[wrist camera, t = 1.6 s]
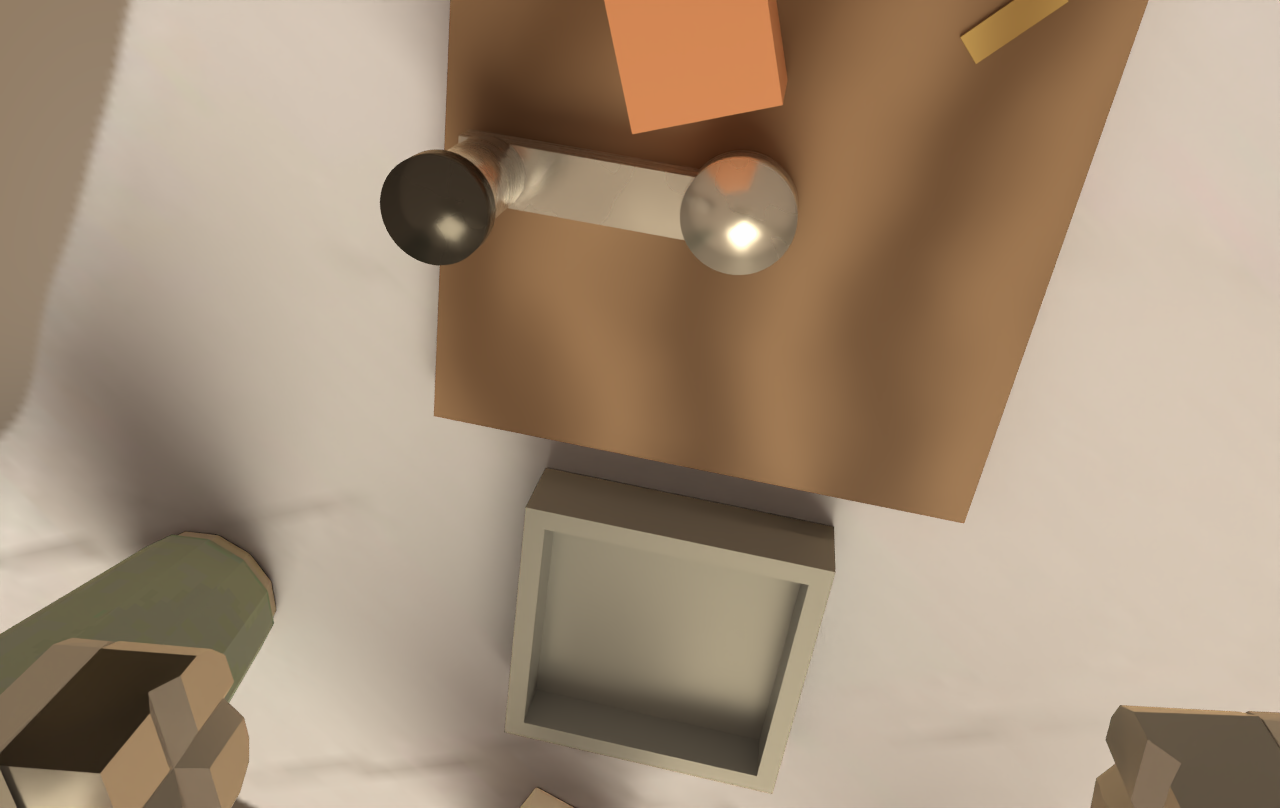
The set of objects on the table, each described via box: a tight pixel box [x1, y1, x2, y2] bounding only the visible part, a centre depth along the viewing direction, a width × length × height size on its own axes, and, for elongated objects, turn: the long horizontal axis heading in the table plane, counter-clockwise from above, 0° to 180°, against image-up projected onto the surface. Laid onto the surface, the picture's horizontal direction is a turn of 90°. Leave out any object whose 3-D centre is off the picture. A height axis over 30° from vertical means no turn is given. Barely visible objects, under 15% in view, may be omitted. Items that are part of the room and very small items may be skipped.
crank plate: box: [434, 0, 1148, 523], centre depth 31 cm, size 20×20×2 cm
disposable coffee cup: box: [0, 531, 276, 703], centre depth 37 cm, size 11×11×15 cm
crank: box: [380, 129, 798, 275], centre depth 28 cm, size 11×4×6 cm, turn 82°
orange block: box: [604, 0, 788, 134], centre depth 26 cm, size 4×4×5 cm
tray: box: [504, 468, 835, 794], centre depth 39 cm, size 12×12×3 cm
